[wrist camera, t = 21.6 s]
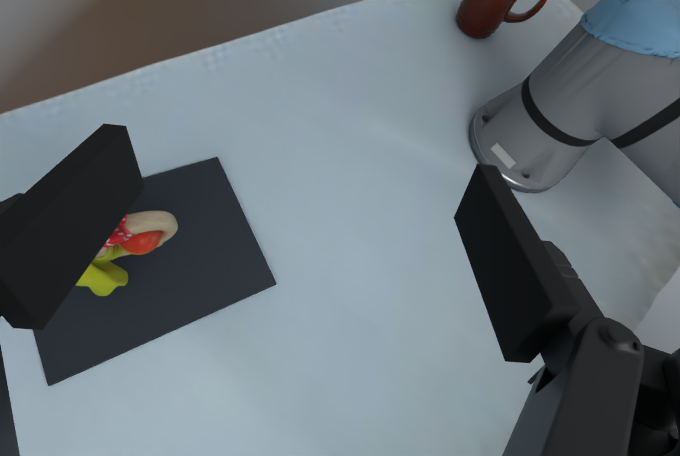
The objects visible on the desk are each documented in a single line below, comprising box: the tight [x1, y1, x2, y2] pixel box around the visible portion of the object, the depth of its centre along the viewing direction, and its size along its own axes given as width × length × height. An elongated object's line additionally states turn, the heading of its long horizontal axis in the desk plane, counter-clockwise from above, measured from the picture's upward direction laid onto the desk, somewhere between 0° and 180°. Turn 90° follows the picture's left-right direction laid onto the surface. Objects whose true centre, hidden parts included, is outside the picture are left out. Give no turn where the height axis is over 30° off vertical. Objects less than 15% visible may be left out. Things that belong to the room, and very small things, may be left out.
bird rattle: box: [76, 211, 178, 296], centre depth 30 cm, size 6×11×9 cm
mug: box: [456, 0, 547, 38], centre depth 57 cm, size 12×9×10 cm
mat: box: [33, 157, 276, 386], centre depth 34 cm, size 20×16×1 cm
